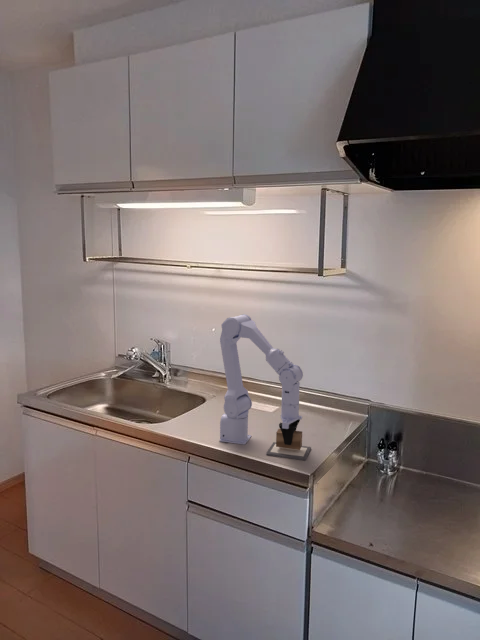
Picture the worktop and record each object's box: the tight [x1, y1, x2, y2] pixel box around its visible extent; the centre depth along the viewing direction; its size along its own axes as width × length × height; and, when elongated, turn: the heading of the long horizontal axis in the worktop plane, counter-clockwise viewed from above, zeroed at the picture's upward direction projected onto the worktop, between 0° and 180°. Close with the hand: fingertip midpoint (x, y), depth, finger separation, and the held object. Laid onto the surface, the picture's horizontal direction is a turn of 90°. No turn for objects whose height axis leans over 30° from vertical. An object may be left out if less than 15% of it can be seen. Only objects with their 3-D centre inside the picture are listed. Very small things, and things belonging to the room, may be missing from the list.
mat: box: [265, 441, 312, 461], centre depth 171 cm, size 13×10×1 cm
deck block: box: [275, 428, 303, 450], centre depth 171 cm, size 4×8×5 cm, turn 73°
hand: (289, 442), depth 171 cm, fingers closed on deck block, 3 cm apart
